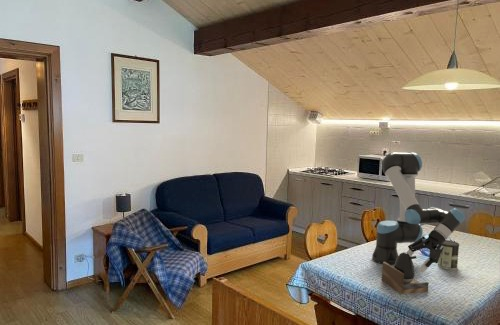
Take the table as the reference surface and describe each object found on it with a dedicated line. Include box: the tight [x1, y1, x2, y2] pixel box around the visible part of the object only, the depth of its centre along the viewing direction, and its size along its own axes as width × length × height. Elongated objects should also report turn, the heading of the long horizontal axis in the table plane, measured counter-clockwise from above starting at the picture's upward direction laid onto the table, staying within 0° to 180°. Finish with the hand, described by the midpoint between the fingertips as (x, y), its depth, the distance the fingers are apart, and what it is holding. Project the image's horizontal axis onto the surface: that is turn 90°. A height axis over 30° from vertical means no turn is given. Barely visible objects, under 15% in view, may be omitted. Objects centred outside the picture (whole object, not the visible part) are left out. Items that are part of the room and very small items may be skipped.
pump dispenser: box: [393, 251, 417, 284], centre depth 190 cm, size 10×10×15 cm
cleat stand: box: [381, 262, 429, 295], centre depth 191 cm, size 15×16×10 cm
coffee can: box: [437, 239, 460, 271], centre depth 219 cm, size 10×10×14 cm
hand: (411, 265), depth 190 cm, fingers open, 13 cm apart
